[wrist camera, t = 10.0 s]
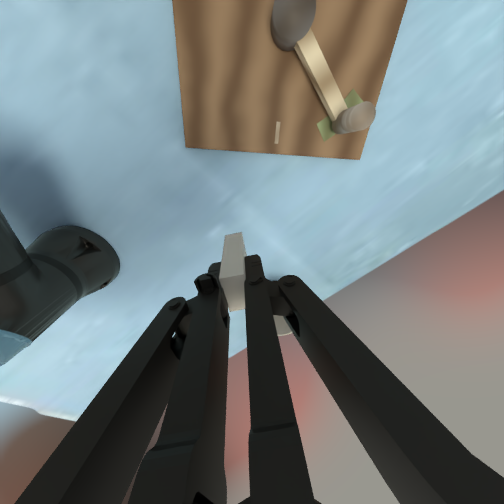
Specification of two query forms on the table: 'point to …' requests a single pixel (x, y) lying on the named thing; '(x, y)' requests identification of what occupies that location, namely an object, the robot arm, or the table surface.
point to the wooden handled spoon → (316, 63)
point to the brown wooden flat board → (277, 74)
